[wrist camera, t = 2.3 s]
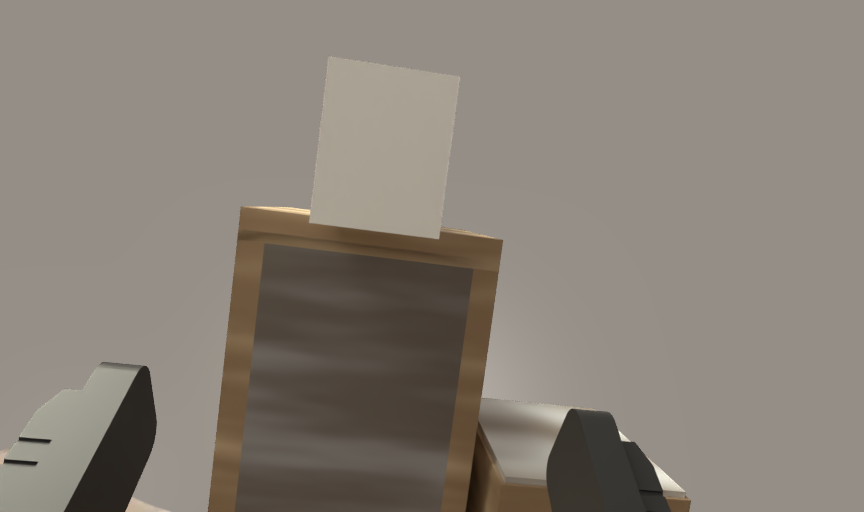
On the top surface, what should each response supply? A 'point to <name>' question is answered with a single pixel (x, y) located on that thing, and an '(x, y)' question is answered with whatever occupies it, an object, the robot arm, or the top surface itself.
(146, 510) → the top surface
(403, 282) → the step shelf
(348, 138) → the white long block
